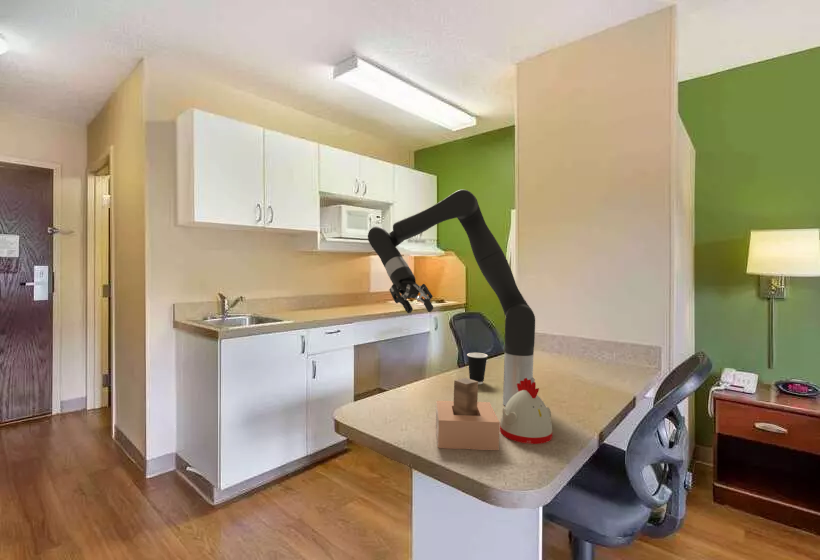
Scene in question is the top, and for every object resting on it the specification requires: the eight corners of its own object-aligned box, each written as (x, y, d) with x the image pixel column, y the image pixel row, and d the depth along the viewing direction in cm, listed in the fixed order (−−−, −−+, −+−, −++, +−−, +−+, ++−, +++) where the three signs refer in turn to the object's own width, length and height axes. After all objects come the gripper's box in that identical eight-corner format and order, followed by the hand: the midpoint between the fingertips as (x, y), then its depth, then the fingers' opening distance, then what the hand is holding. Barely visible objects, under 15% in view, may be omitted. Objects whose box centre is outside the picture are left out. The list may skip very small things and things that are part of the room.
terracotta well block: (488, 426, 118) (489, 402, 118) (498, 450, 103) (499, 422, 103) (435, 424, 118) (436, 400, 118) (438, 448, 103) (438, 420, 103)
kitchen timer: (521, 447, 105) (523, 388, 105) (489, 427, 118) (491, 374, 117) (563, 439, 111) (565, 383, 110) (529, 421, 123) (531, 370, 123)
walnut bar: (464, 428, 114) (465, 377, 113) (476, 433, 110) (478, 381, 110) (452, 432, 111) (454, 380, 110) (464, 437, 107) (466, 384, 107)
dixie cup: (491, 384, 160) (491, 356, 160) (473, 386, 157) (474, 357, 157) (479, 379, 168) (480, 352, 167) (462, 381, 164) (463, 353, 164)
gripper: (387, 265, 133) (409, 304, 125) (421, 266, 142) (443, 302, 134) (377, 280, 137) (397, 319, 129) (411, 280, 146) (431, 317, 138)
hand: (421, 311), depth 131 cm, fingers open, 8 cm apart
